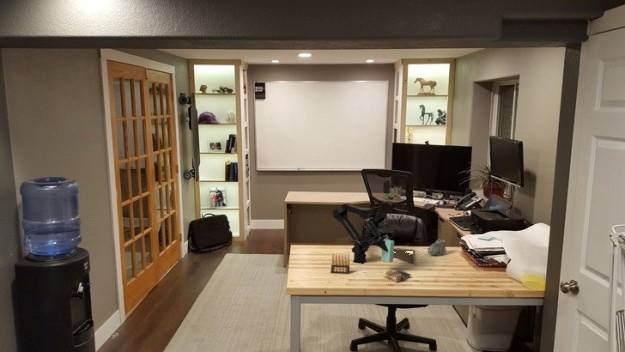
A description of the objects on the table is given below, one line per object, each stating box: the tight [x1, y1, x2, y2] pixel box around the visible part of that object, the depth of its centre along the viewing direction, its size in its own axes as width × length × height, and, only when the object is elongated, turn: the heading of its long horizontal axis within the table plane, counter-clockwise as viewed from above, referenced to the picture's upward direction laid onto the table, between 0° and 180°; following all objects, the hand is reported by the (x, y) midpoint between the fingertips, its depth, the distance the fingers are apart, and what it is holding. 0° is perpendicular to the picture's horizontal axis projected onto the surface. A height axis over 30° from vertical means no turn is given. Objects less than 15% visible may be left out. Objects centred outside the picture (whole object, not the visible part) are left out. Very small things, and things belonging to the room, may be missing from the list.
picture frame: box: [382, 247, 416, 266], centre depth 274 cm, size 19×2×30 cm
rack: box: [383, 268, 411, 284], centre depth 239 cm, size 10×11×3 cm
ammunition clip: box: [330, 252, 351, 275], centre depth 246 cm, size 11×2×12 cm, turn 85°
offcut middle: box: [384, 272, 401, 280], centre depth 237 cm, size 8×4×1 cm, turn 40°
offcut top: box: [385, 269, 402, 278], centre depth 236 cm, size 8×4×1 cm, turn 40°
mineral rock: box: [427, 238, 447, 256], centre depth 278 cm, size 13×11×10 cm
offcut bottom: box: [384, 275, 401, 283], centre depth 237 cm, size 8×4×1 cm, turn 40°
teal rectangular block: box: [380, 239, 395, 264], centre depth 246 cm, size 6×3×12 cm, turn 39°
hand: (389, 250), depth 245 cm, fingers closed on teal rectangular block, 3 cm apart
